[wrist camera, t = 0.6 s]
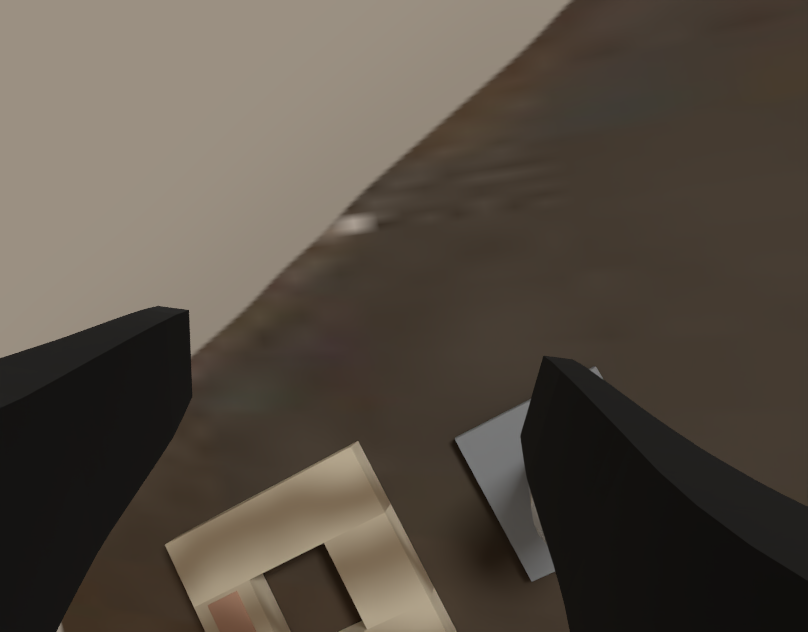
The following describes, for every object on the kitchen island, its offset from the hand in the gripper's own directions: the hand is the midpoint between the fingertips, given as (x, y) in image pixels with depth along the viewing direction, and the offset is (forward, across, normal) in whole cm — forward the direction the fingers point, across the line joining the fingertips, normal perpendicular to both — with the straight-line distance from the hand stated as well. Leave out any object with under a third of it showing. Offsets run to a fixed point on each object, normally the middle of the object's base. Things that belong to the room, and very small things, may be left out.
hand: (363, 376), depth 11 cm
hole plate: (+13, +2, +24) cm, 27 cm away
